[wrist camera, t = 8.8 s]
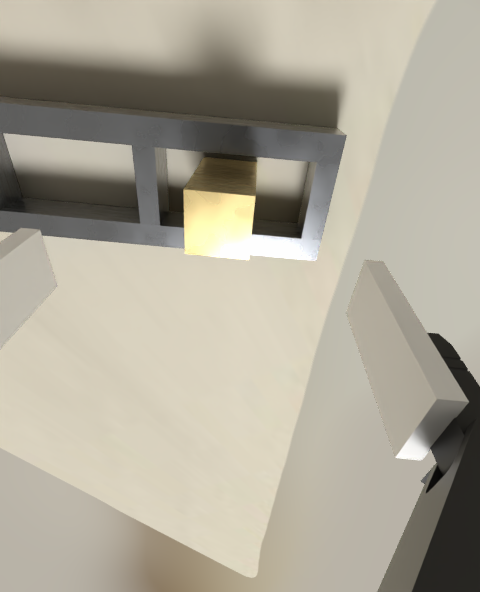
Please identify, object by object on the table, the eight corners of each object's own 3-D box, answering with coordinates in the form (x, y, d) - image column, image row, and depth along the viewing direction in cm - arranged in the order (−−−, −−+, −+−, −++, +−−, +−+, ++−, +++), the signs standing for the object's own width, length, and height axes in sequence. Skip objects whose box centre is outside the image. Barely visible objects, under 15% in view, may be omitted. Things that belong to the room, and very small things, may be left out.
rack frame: (-31, 93, 23) (-67, 96, 20) (337, 128, 23) (346, 135, 20) (11, 215, 28) (-13, 230, 25) (311, 244, 28) (316, 260, 25)
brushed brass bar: (204, 157, 24) (183, 189, 18) (256, 162, 24) (255, 196, 18) (203, 208, 27) (184, 253, 20) (251, 213, 27) (248, 259, 20)
